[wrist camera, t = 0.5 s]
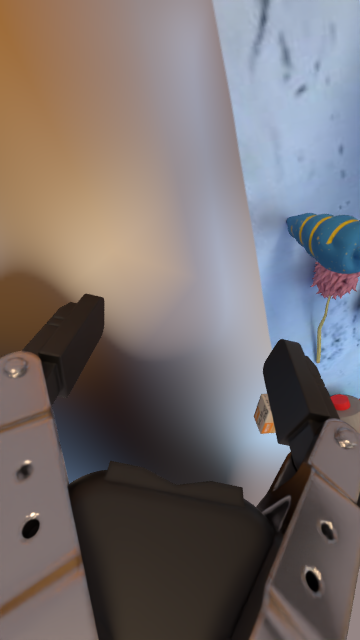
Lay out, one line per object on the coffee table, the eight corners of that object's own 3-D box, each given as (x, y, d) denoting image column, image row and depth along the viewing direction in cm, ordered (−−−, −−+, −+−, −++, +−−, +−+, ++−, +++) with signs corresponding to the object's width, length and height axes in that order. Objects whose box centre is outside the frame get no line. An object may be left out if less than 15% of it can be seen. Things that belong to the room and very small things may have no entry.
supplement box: (316, 430, 54) (260, 435, 53) (304, 412, 58) (252, 416, 57) (329, 407, 49) (268, 412, 48) (316, 389, 53) (259, 393, 52)
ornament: (302, 191, 30) (411, 213, 18) (312, 227, 33) (411, 267, 21) (265, 215, 31) (342, 250, 19) (277, 247, 34) (351, 297, 22)
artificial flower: (330, 343, 50) (353, 233, 33) (347, 372, 45) (383, 260, 28) (297, 349, 51) (302, 247, 34) (309, 377, 46) (322, 274, 30)
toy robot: (322, 375, 61) (338, 421, 63) (288, 409, 55) (307, 459, 57) (396, 387, 48) (413, 444, 50) (362, 433, 41) (384, 498, 44)
